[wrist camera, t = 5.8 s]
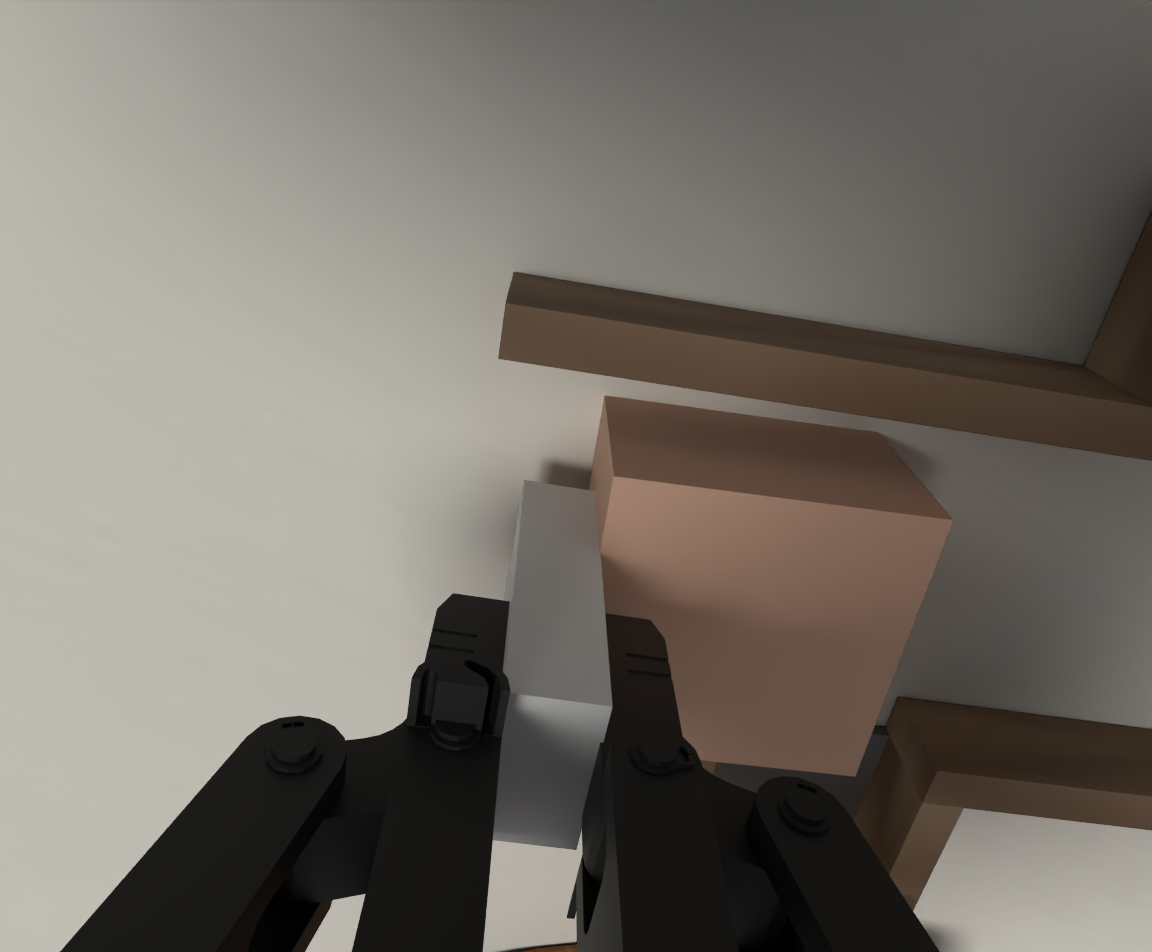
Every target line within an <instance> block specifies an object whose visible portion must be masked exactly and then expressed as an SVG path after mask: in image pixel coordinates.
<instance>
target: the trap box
mask: <svg viewBox="0 0 1152 952" xmlns="http://www.w3.org/2000/svg"><path fill="white" fill-rule="evenodd" d="M498 359H504V360H510V361H516V362H523V363H529V364H536V365H542V366H548V367H555V368H561V369H568V370H574V371H580V372H587V373H593V374H600V375H606V376H612V377H619V378H625V379H632V380H638V381H644V382H651V383H657V384H664V385H670V386H676V387H683V388H689V389H696V390H702V391H708V392H715V393H721V394H728V395H734V396H740V397H747V398H753V399H760V400H766V401H772V402H779V403H785V404H792V405H798V406H804V407H811V408H817V409H823V410H830V411H836V412H843V413H849V414H855V415H862V416H868V417H875V418H881V419H887V420H894V421H900V422H907V423H913V424H919V425H926V426H932V427H939V428H945V429H951V430H958V431H964V432H971V433H977V434H983V435H990V436H996V437H1003V438H1009V439H1015V440H1022V441H1028V442H1035V443H1041V444H1047V445H1054V446H1060V447H1067V448H1073V449H1079V450H1086V451H1092V452H1099V453H1105V454H1111V455H1118V456H1124V457H1131V458H1137V459H1143V460H1150V461H1152V213H1151V215H1150V217H1149V219H1148V222H1147V224H1146V226H1145V228H1144V231H1143V233H1142V235H1141V238H1140V240H1139V242H1138V244H1137V247H1136V249H1135V251H1134V253H1133V256H1132V258H1131V260H1130V263H1129V265H1128V267H1127V269H1126V272H1125V274H1124V276H1123V278H1122V281H1121V283H1120V285H1119V287H1118V290H1117V292H1116V294H1115V297H1114V299H1113V301H1112V303H1111V306H1110V308H1109V310H1108V312H1107V315H1106V317H1105V319H1104V322H1103V324H1102V326H1101V328H1100V331H1099V333H1098V335H1097V337H1096V340H1095V342H1094V344H1093V346H1092V349H1091V351H1090V353H1089V356H1088V358H1087V360H1086V362H1085V365H1084V366H1080V365H1074V364H1068V363H1062V362H1056V361H1050V360H1044V359H1038V358H1032V357H1025V356H1019V355H1013V354H1007V353H1001V352H995V351H989V350H983V349H977V348H971V347H965V346H959V345H953V344H947V343H941V342H934V341H928V340H922V339H916V338H910V337H904V336H898V335H892V334H886V333H880V332H874V331H868V330H862V329H856V328H850V327H843V326H837V325H831V324H825V323H819V322H813V321H807V320H801V319H795V318H789V317H783V316H777V315H771V314H765V313H759V312H752V311H746V310H740V309H734V308H728V307H722V306H716V305H710V304H704V303H698V302H692V301H686V300H680V299H674V298H667V297H661V296H655V295H649V294H643V293H637V292H631V291H625V290H619V289H613V288H607V287H601V286H595V285H589V284H583V283H576V282H570V281H564V280H558V279H552V278H546V277H540V276H534V275H528V274H522V273H516V272H514V273H513V277H512V281H511V285H510V289H509V292H508V296H507V300H506V305H505V312H504V320H503V327H502V335H501V342H500V350H499V357H498ZM701 763H702V767H703V768H704V769H706V770H707V771H709V772H710V773H711V774H713V775H714V776H716V777H718V778H720V779H722V780H725V781H727V782H729V783H731V784H734V785H737V786H739V787H742V788H744V789H747V790H750V791H752V792H755V793H757V791H758V788H759V787H760V786H761V785H763V784H764V783H765V782H766V781H767V780H768V779H772V778H776V777H780V776H787V777H797V778H801V779H804V780H807V781H809V782H812V783H814V784H817V785H819V786H820V787H822V788H823V789H824V790H826V791H827V792H829V793H830V794H832V795H833V796H834V797H835V798H836V799H837V800H838V801H839V802H840V803H841V805H842V806H843V807H844V808H845V809H846V810H847V812H848V813H849V815H850V816H851V818H852V819H853V821H854V822H855V824H856V826H857V827H858V829H859V830H860V832H861V833H862V835H863V836H864V838H865V839H866V841H867V842H868V844H869V845H870V847H871V848H872V850H873V851H874V853H875V854H876V856H877V857H878V859H879V860H880V862H881V864H882V865H883V867H884V868H885V870H886V871H887V873H888V874H889V876H890V877H891V879H892V880H893V882H894V883H895V885H896V886H897V888H898V889H899V891H900V892H901V894H902V895H903V897H904V898H905V900H906V902H907V903H908V905H909V906H910V908H911V909H912V911H913V910H914V908H915V906H916V904H917V902H918V900H919V898H920V896H921V894H922V891H923V889H924V887H925V885H926V883H927V881H928V879H929V877H930V875H931V873H932V871H933V869H934V867H935V865H936V863H937V861H938V859H939V857H940V855H941V853H942V851H943V849H944V847H945V845H946V843H947V841H948V839H949V837H950V834H951V832H952V830H953V828H954V826H955V824H956V822H957V820H958V818H959V816H960V814H961V812H962V810H963V808H969V809H977V810H986V811H994V812H1002V813H1011V814H1019V815H1028V816H1036V817H1045V818H1053V819H1061V820H1070V821H1078V822H1087V823H1095V824H1104V825H1112V826H1120V827H1129V828H1137V829H1146V830H1152V730H1149V729H1141V728H1133V727H1125V726H1118V725H1110V724H1102V723H1094V722H1087V721H1079V720H1071V719H1063V718H1055V717H1048V716H1040V715H1032V714H1024V713H1017V712H1009V711H1001V710H993V709H986V708H978V707H970V706H962V705H955V704H947V703H939V702H931V701H924V700H916V699H908V698H900V697H898V699H897V701H896V704H895V706H894V708H893V711H892V713H891V716H890V718H889V720H888V723H887V725H886V728H885V727H877V726H875V727H874V729H873V732H872V734H871V737H870V740H869V742H868V745H867V747H866V750H865V753H864V755H863V758H862V760H861V763H860V766H859V768H858V771H857V773H856V776H855V777H854V776H845V775H836V774H826V773H817V772H807V771H798V770H788V769H779V768H770V767H760V766H751V765H741V764H732V763H722V762H713V761H704V760H701Z"/></svg>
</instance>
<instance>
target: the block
mask: <svg viewBox="0 0 1152 952" xmlns="http://www.w3.org/2000/svg"><path fill="white" fill-rule="evenodd" d="M588 490H590V491H595V492H596V506H597V520H598V535H599V549H600V554H601V567H602V580H603V593H604V605H605V613H607V614H614V615H621V616H628V617H635V618H642V619H648V620H651V621H652V622H653V624H654V625H655V626H656V628H657V629H658V630H659V632H660V633H661V634H662V636H663V637H664V638H665V642H666V647H667V653H668V658H669V660H668V663H669V664H670V669H671V675H672V676H671V679H672V680H673V686H674V691H675V697H676V702H677V708H678V713H679V719H680V724H681V730H682V735H683V737H684V738H685V739H686V740H687V741H688V742H689V743H690V744H691V745H692V746H693V747H694V748H695V749H696V751H697V754H698V756H699V758H700V760H704V761H713V762H722V763H732V764H741V765H751V766H760V767H770V768H779V769H788V770H798V771H807V772H817V773H826V774H836V775H845V776H854V777H855V776H856V773H857V771H858V768H859V766H860V763H861V760H862V758H863V755H864V753H865V750H866V747H867V745H868V742H869V740H870V737H871V734H872V732H873V729H874V727H875V724H876V721H877V719H878V716H879V714H880V711H881V708H882V706H883V703H884V701H885V698H886V695H887V693H888V690H889V688H890V685H891V682H892V680H893V677H894V675H895V672H896V669H897V667H898V664H899V662H900V659H901V656H902V654H903V651H904V649H905V646H906V643H907V641H908V638H909V635H910V633H911V630H912V628H913V625H914V622H915V620H916V617H917V615H918V612H919V609H920V607H921V604H922V602H923V599H924V596H925V594H926V591H927V589H928V586H929V583H930V581H931V578H932V576H933V573H934V570H935V568H936V565H937V563H938V560H939V557H940V555H941V552H942V550H943V547H944V544H945V542H946V539H947V537H948V534H949V531H950V529H951V526H952V524H953V521H954V520H953V519H952V518H951V517H950V515H949V514H948V513H947V512H946V511H945V510H944V508H943V507H942V506H941V505H940V504H939V503H938V502H937V500H936V499H935V498H934V497H933V496H932V495H931V493H930V492H929V491H928V490H927V489H926V488H925V487H924V485H923V484H922V483H921V482H920V481H919V480H918V478H917V477H916V476H915V475H914V474H913V473H912V471H911V470H910V469H909V468H908V467H907V466H906V465H905V463H904V462H903V461H902V460H901V459H900V458H899V456H898V455H897V454H896V453H895V452H894V451H893V450H892V448H891V447H890V446H889V445H888V444H887V443H886V441H885V440H884V439H883V438H882V437H881V436H880V434H879V433H877V432H869V431H862V430H854V429H847V428H840V427H832V426H825V425H818V424H810V423H803V422H796V421H788V420H781V419H773V418H766V417H759V416H751V415H744V414H737V413H729V412H722V411H715V410H707V409H700V408H692V407H685V406H678V405H670V404H663V403H656V402H648V401H641V400H634V399H626V398H619V397H611V396H604V401H603V407H602V413H601V419H600V425H599V431H598V436H597V442H596V448H595V454H594V460H593V466H592V471H591V477H590V483H589V489H588Z"/></svg>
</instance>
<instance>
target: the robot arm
mask: <svg viewBox="0 0 1152 952" xmlns="http://www.w3.org/2000/svg"><path fill="white" fill-rule="evenodd" d="M668 660H669V658H668V653H667V647H666V642H665V638H664V637H663V636H662V634H661V633H660V632H659V630H658V629H657V628H656V626H655V625H654V624H653V622H652V621H651V620H648V619H642V618H635V617H628V616H621V615H614V614H607V613H605V605H604V593H603V580H602V567H601V554H600V549H599V535H598V520H597V506H596V492H595V491H590V490H584V489H578V488H571V487H565V486H559V485H552V484H546V483H539V482H533V481H527V480H524V484H523V490H522V496H521V502H520V507H519V513H518V519H517V525H516V531H515V537H514V542H513V548H512V554H511V560H510V566H509V572H508V577H507V583H506V589H505V596H504V601H503V600H496V599H489V598H482V597H475V596H468V595H461V594H454V593H453V594H452V595H451V596H450V597H449V598H448V599H447V600H446V601H445V602H444V603H443V604H442V605H441V606H440V607H438V608H437V612H436V616H435V620H434V625H433V629H432V633H431V637H430V641H429V647H428V650H427V654H426V658H425V662H424V663H422V664H421V665H419V666H418V668H417V670H416V671H415V673H414V675H413V676H412V681H411V689H410V697H409V706H408V714H407V719H406V720H405V721H404V722H403V723H402V724H400V725H399V726H397V727H396V728H394V729H393V730H391V731H388V732H386V733H383V734H381V735H378V736H373V737H368V738H363V739H354V740H346V741H345V738H344V737H343V736H342V735H341V733H340V732H339V731H338V730H337V729H336V727H335V726H333V725H331V724H329V723H327V722H325V721H323V720H321V719H317V718H311V717H305V716H294V717H284V718H279V719H276V720H273V721H271V722H268V723H266V724H263V725H261V726H260V727H258V728H257V729H256V730H255V731H253V732H252V733H251V734H250V735H248V736H247V737H246V738H245V740H244V741H243V742H242V743H241V744H240V745H239V746H238V748H237V749H236V750H235V751H234V752H233V753H232V754H231V756H230V757H229V758H228V759H227V760H226V761H225V763H224V764H223V765H222V766H221V767H220V768H219V769H218V771H217V772H216V773H215V774H214V775H213V776H212V777H211V779H210V780H209V781H208V782H207V783H206V784H205V786H204V787H203V788H202V789H201V790H200V791H199V792H198V794H197V795H196V796H195V797H194V798H193V799H192V801H191V802H190V803H189V804H188V805H187V806H186V807H185V809H184V810H183V811H182V812H181V813H180V814H179V815H178V817H177V818H176V819H175V820H174V821H173V822H172V824H171V825H170V826H169V827H168V828H167V829H166V830H165V832H164V833H163V834H162V835H161V836H160V837H159V839H158V840H157V841H156V842H155V843H154V844H153V845H152V847H151V848H150V849H149V850H148V851H147V852H146V853H145V855H144V856H143V857H142V858H141V859H140V860H139V862H138V863H137V864H136V865H135V866H134V867H133V868H132V870H131V871H130V872H129V873H128V874H127V875H126V877H125V878H124V879H123V880H122V881H121V882H120V883H119V885H118V886H117V887H116V888H115V889H114V890H113V891H112V893H111V894H110V895H109V896H108V897H107V898H106V900H105V901H104V902H103V903H102V904H101V905H100V906H99V908H98V909H97V910H96V911H95V912H94V913H93V914H92V916H91V917H90V918H89V919H88V920H87V921H86V923H85V924H84V925H83V926H82V927H81V928H80V929H79V931H78V932H77V933H76V934H75V935H74V936H73V938H72V939H71V940H70V941H69V942H68V943H67V944H66V946H65V947H64V948H63V949H62V950H61V951H60V952H305V951H306V949H307V947H308V945H309V944H310V942H311V940H312V938H313V937H314V935H315V933H316V931H317V930H318V928H319V926H320V924H321V923H322V921H323V919H324V917H325V916H326V914H327V912H328V911H329V909H330V906H331V903H332V900H335V899H340V898H345V897H350V896H356V895H361V894H366V895H365V899H364V903H363V907H362V911H361V915H360V920H359V924H358V928H357V932H356V936H355V941H354V945H353V949H352V952H483V941H484V930H485V919H486V908H487V897H488V885H489V874H490V863H491V852H492V841H493V840H498V841H507V842H515V843H523V844H532V845H540V846H548V847H557V848H565V849H574V850H576V849H577V845H578V841H579V837H580V833H581V830H582V846H583V855H582V859H581V863H580V866H579V870H578V874H577V878H576V882H575V886H574V890H573V894H572V898H571V901H570V906H569V910H568V915H567V918H572V919H574V918H575V914H576V911H577V952H939V950H938V949H937V947H936V946H935V944H934V943H933V941H932V940H931V938H930V936H929V935H928V933H927V932H926V930H925V929H924V927H923V926H922V924H921V923H920V921H919V920H918V918H917V917H916V915H915V914H914V912H913V911H912V909H911V908H910V906H909V905H908V903H907V902H906V900H905V898H904V897H903V895H902V894H901V892H900V891H899V889H898V888H897V886H896V885H895V883H894V882H893V880H892V879H891V877H890V876H889V874H888V873H887V871H886V870H885V868H884V867H883V865H882V864H881V862H880V860H879V859H878V857H877V856H876V854H875V853H874V851H873V850H872V848H871V847H870V845H869V844H868V842H867V841H866V839H865V838H864V836H863V835H862V833H861V832H860V830H859V829H858V827H857V826H856V824H855V822H854V821H853V819H852V818H851V816H850V815H849V813H848V812H847V810H846V809H845V808H844V807H843V806H842V805H841V803H840V802H839V801H838V800H837V799H836V798H835V797H834V796H833V795H832V794H830V793H829V792H827V791H826V790H824V789H823V788H822V787H820V786H819V785H817V784H814V783H812V782H809V781H807V780H804V779H801V778H797V777H787V776H780V777H776V778H772V779H768V780H767V781H766V782H765V783H764V784H763V785H761V786H760V787H759V788H758V791H757V793H755V792H752V791H750V790H747V789H744V788H742V787H739V786H737V785H734V784H731V783H729V782H727V781H725V780H722V779H720V778H718V777H716V776H714V775H713V774H711V773H710V772H709V771H707V770H706V769H704V768H703V767H702V763H701V760H700V758H699V756H698V754H697V751H696V749H695V748H694V747H693V746H692V745H691V744H690V743H689V742H688V741H687V740H686V739H685V738H684V737H683V735H682V730H681V724H680V719H679V713H678V708H677V702H676V697H675V691H674V686H673V680H672V679H671V676H672V675H671V669H670V664H669V663H668Z"/></svg>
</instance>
